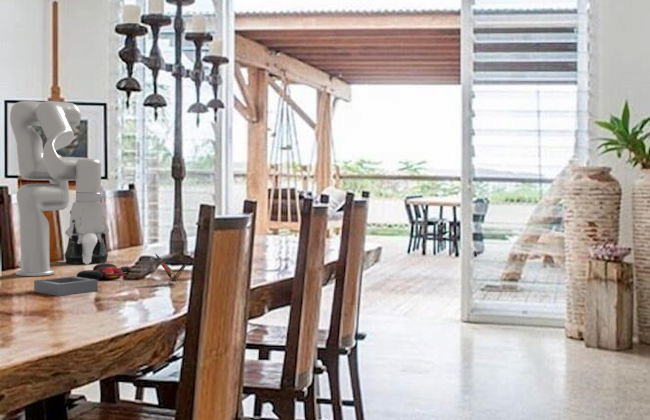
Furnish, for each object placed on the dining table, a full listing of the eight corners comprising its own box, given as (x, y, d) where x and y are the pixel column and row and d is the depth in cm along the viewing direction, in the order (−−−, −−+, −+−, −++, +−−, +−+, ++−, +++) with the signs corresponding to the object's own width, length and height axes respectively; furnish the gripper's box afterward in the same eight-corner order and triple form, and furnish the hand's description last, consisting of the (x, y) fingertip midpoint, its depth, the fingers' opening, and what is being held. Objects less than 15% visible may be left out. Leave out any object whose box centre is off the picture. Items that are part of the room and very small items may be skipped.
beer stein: (87, 265, 292) (87, 200, 291) (50, 262, 300) (49, 199, 299) (116, 261, 307) (116, 199, 306) (80, 259, 315) (79, 198, 314)
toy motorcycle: (74, 286, 247) (122, 279, 246) (72, 270, 247) (120, 263, 246) (98, 278, 272) (142, 271, 271) (96, 264, 272) (139, 257, 271)
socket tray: (34, 291, 225) (34, 280, 225) (73, 286, 235) (72, 276, 235) (58, 296, 217) (58, 284, 217) (97, 290, 227) (97, 279, 227)
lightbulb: (78, 266, 236) (79, 231, 235) (75, 263, 241) (75, 228, 240) (98, 265, 239) (99, 230, 238) (95, 262, 244) (95, 228, 243)
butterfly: (150, 286, 237) (150, 254, 236) (158, 282, 246) (158, 251, 246) (188, 286, 236) (188, 255, 236) (195, 282, 246) (195, 252, 245)
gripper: (104, 196, 247) (103, 251, 249) (56, 197, 234) (56, 256, 235) (118, 198, 243) (117, 254, 244) (70, 199, 229) (69, 258, 231)
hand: (87, 254), depth 240 cm, fingers closed on lightbulb, 5 cm apart
